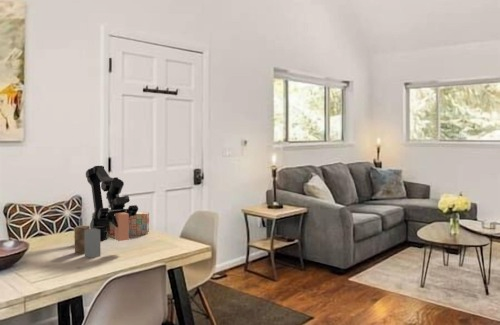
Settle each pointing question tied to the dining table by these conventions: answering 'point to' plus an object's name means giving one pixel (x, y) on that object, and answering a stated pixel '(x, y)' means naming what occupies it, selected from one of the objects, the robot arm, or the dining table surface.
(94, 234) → the slate grey block
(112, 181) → the robot arm
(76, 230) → the walnut block
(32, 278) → the dining table surface
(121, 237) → the terracotta block
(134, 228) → the stack of blocks
